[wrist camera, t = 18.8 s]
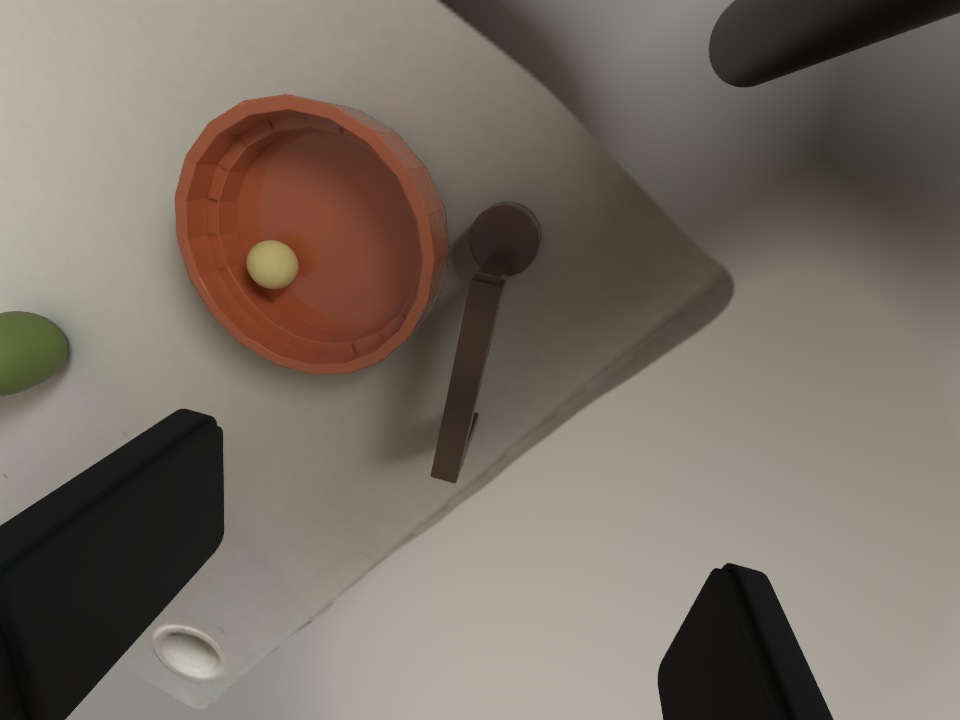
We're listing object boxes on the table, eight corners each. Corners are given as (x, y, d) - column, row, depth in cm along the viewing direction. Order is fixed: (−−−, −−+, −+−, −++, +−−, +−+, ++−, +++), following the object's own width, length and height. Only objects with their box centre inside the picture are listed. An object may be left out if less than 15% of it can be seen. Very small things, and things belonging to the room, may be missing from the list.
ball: (310, 255, 31) (306, 273, 33) (270, 222, 30) (269, 243, 33) (276, 288, 29) (275, 304, 32) (233, 254, 29) (236, 273, 32)
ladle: (482, 194, 29) (460, 205, 23) (549, 210, 29) (543, 224, 23) (437, 421, 36) (410, 474, 30) (490, 436, 36) (474, 492, 30)
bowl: (472, 135, 28) (456, 133, 24) (428, 374, 34) (411, 401, 31) (220, 77, 29) (167, 66, 25) (223, 318, 36) (181, 339, 32)
